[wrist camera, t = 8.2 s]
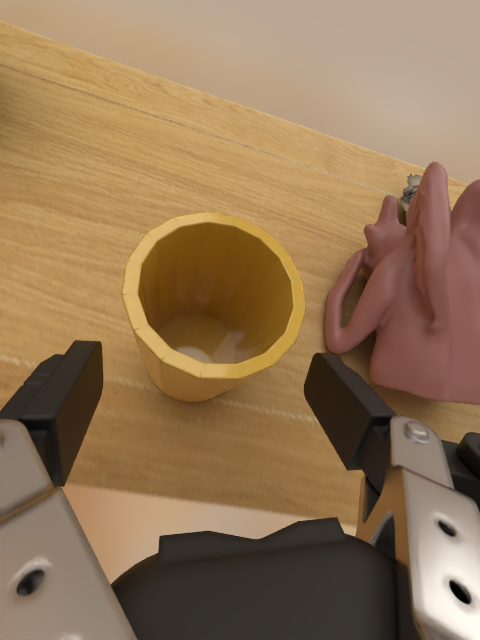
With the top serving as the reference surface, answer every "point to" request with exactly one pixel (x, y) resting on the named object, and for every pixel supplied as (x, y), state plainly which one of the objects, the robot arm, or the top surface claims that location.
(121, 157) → the top surface
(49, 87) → the top surface
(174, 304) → the cup
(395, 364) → the figurine
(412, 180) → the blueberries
